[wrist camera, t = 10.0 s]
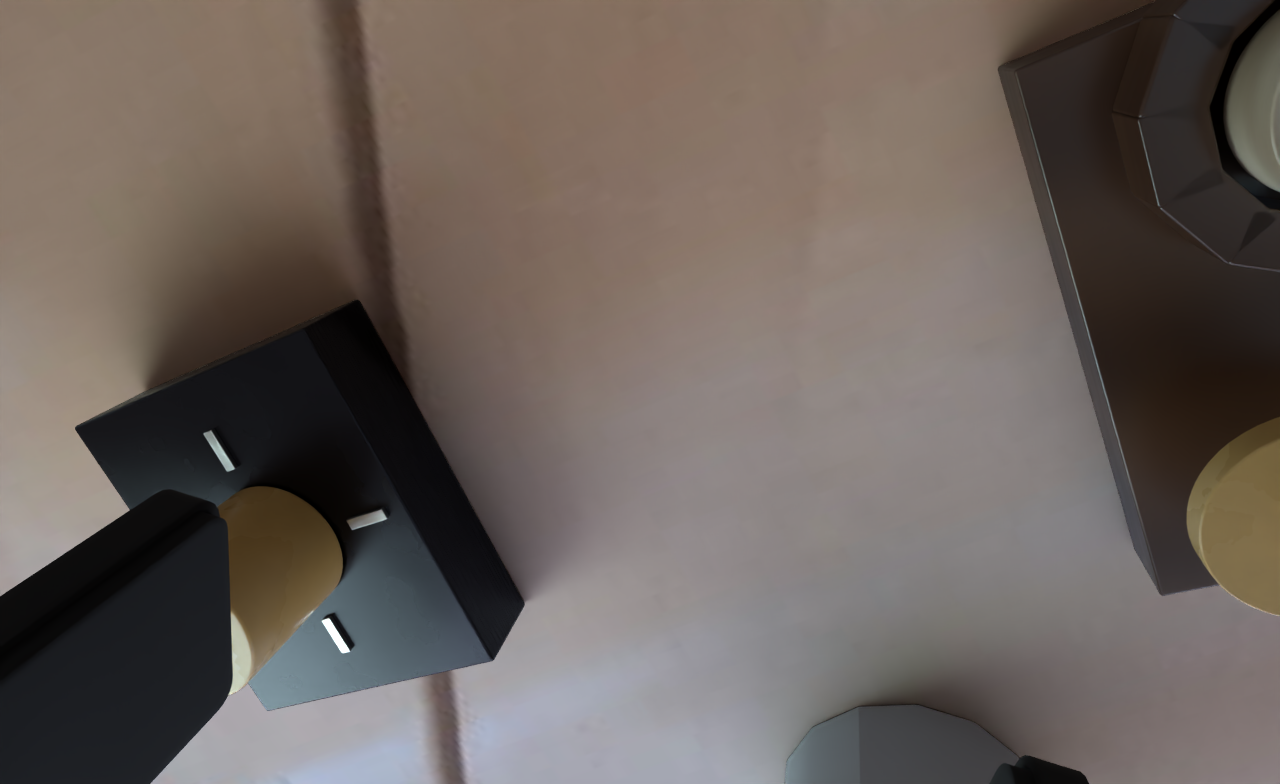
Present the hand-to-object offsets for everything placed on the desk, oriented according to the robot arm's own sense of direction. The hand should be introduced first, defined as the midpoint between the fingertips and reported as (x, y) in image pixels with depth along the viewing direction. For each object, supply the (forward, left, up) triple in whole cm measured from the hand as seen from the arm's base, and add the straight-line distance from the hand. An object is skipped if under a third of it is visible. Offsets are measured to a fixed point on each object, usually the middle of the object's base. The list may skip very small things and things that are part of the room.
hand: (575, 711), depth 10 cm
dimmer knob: (+1, -16, -12) cm, 20 cm away
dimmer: (+1, -16, -15) cm, 22 cm away
